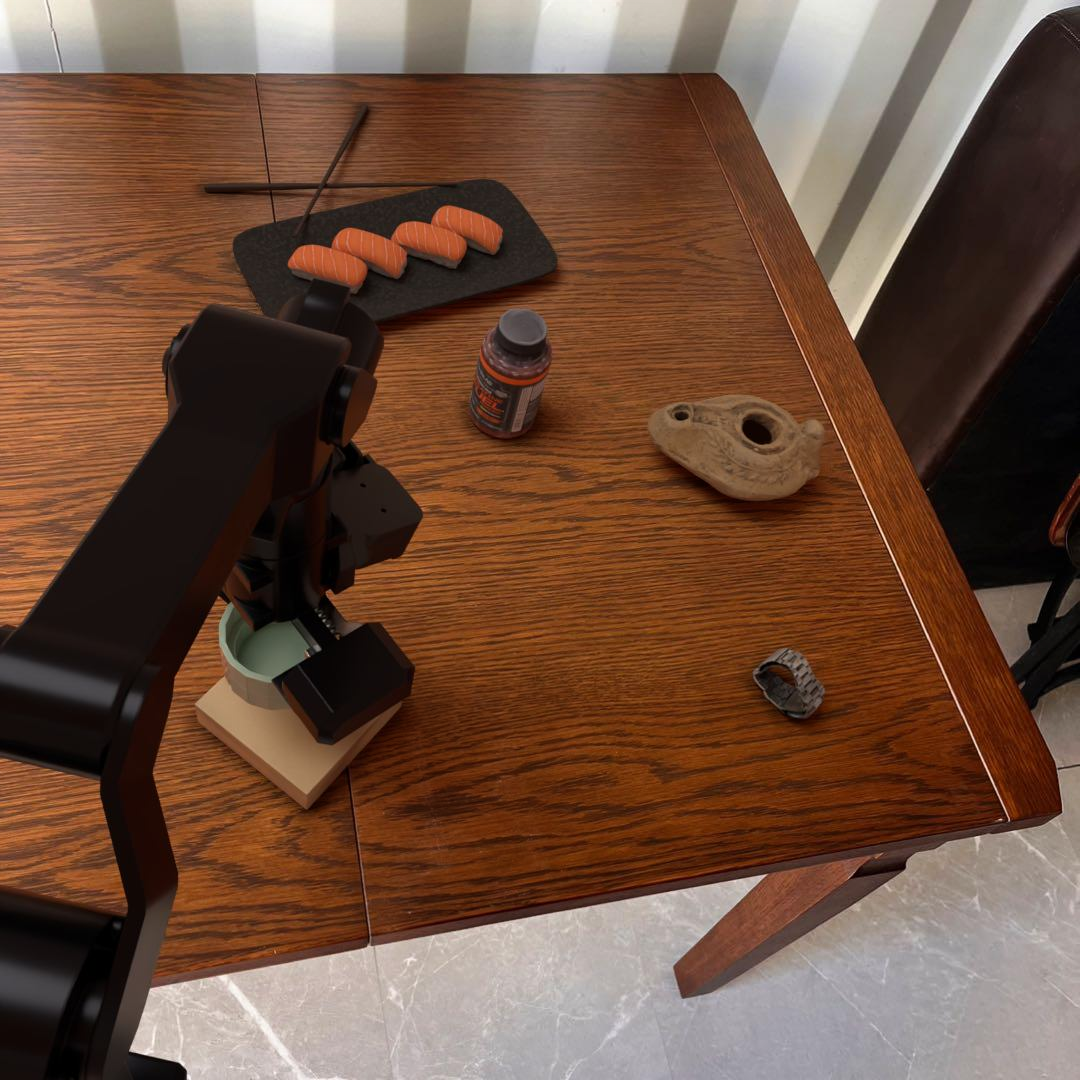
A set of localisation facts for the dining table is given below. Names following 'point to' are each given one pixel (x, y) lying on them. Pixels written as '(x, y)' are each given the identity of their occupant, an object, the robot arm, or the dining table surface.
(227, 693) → the plate
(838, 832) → the dining table surface
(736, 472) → the oil lamp
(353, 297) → the sushi plate
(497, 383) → the supplement bottle
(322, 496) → the robot arm
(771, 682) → the wristwatch
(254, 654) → the bowl
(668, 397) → the dining table surface
